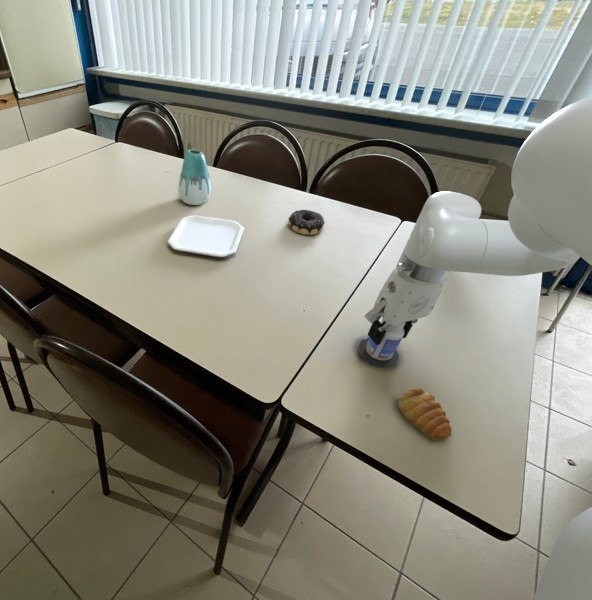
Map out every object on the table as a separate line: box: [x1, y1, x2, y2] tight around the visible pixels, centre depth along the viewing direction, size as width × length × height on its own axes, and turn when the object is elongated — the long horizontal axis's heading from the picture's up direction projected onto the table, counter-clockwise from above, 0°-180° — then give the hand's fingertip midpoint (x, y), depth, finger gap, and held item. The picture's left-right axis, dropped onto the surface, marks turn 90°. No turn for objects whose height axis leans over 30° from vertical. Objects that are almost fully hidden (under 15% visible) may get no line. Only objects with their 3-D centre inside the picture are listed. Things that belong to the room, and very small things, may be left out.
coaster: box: [357, 337, 399, 369], centre depth 78 cm, size 8×8×1 cm
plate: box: [167, 214, 245, 259], centre depth 112 cm, size 21×21×2 cm
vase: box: [177, 148, 212, 206], centre depth 126 cm, size 12×12×18 cm
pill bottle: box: [366, 317, 405, 360], centre depth 75 cm, size 5×5×10 cm
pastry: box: [396, 387, 453, 442], centre depth 66 cm, size 9×7×4 cm
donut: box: [288, 209, 325, 236], centre depth 117 cm, size 11×12×4 cm
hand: (386, 336), depth 75 cm, fingers closed on pill bottle, 5 cm apart
